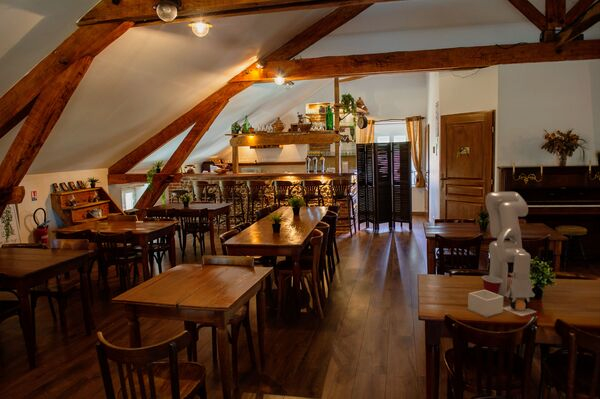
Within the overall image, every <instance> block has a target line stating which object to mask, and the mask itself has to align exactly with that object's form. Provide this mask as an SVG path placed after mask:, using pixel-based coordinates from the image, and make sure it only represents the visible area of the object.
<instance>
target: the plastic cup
mask: <svg viewBox="0 0 600 399" xmlns="http://www.w3.org/2000/svg"><path fill="white" fill-rule="evenodd" d="M481 278H482V283H483V290H487V291H490V292H493V293H495V294H498V292H499V288H500V285H501V283H502V282H503V280H502V279H500V278H498V277H494V276H490V275H482V277H481Z"/></svg>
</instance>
